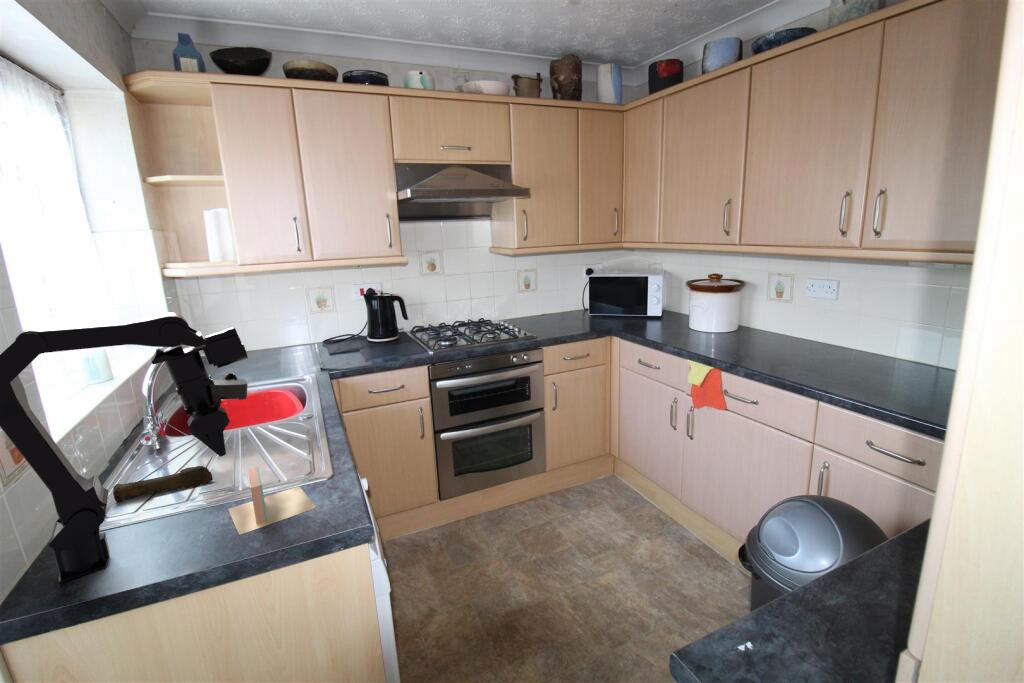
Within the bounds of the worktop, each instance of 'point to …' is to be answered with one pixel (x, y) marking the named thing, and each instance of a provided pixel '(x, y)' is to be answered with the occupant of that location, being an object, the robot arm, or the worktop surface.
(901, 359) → the worktop surface
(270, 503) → the beech board
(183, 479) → the brown wooden rod
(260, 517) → the terracotta tile
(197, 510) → the worktop surface
